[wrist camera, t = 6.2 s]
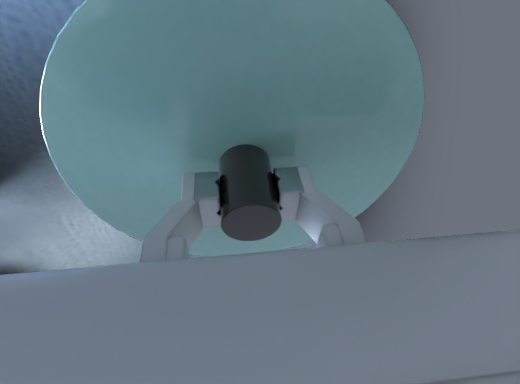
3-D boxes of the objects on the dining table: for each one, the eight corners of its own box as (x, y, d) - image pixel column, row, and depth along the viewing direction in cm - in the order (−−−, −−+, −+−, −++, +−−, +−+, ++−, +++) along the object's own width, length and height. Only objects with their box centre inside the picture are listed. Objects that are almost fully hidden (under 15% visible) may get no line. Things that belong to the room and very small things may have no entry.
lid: (120, 252, 20) (104, 324, 17) (-62, -71, 8) (-222, -28, 5) (359, 232, 22) (385, 295, 19) (490, -65, 10) (620, -29, 7)
